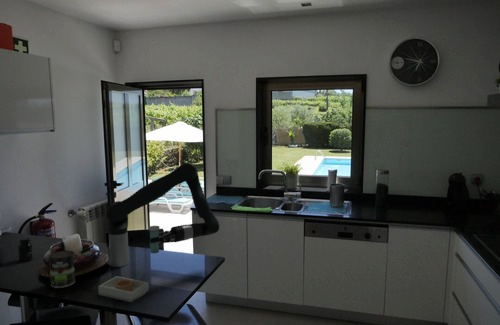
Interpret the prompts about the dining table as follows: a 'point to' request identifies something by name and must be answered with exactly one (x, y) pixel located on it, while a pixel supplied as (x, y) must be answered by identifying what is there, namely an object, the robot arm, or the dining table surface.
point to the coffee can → (62, 269)
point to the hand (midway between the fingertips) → (148, 239)
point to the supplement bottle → (25, 250)
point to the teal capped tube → (154, 233)
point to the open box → (123, 288)
